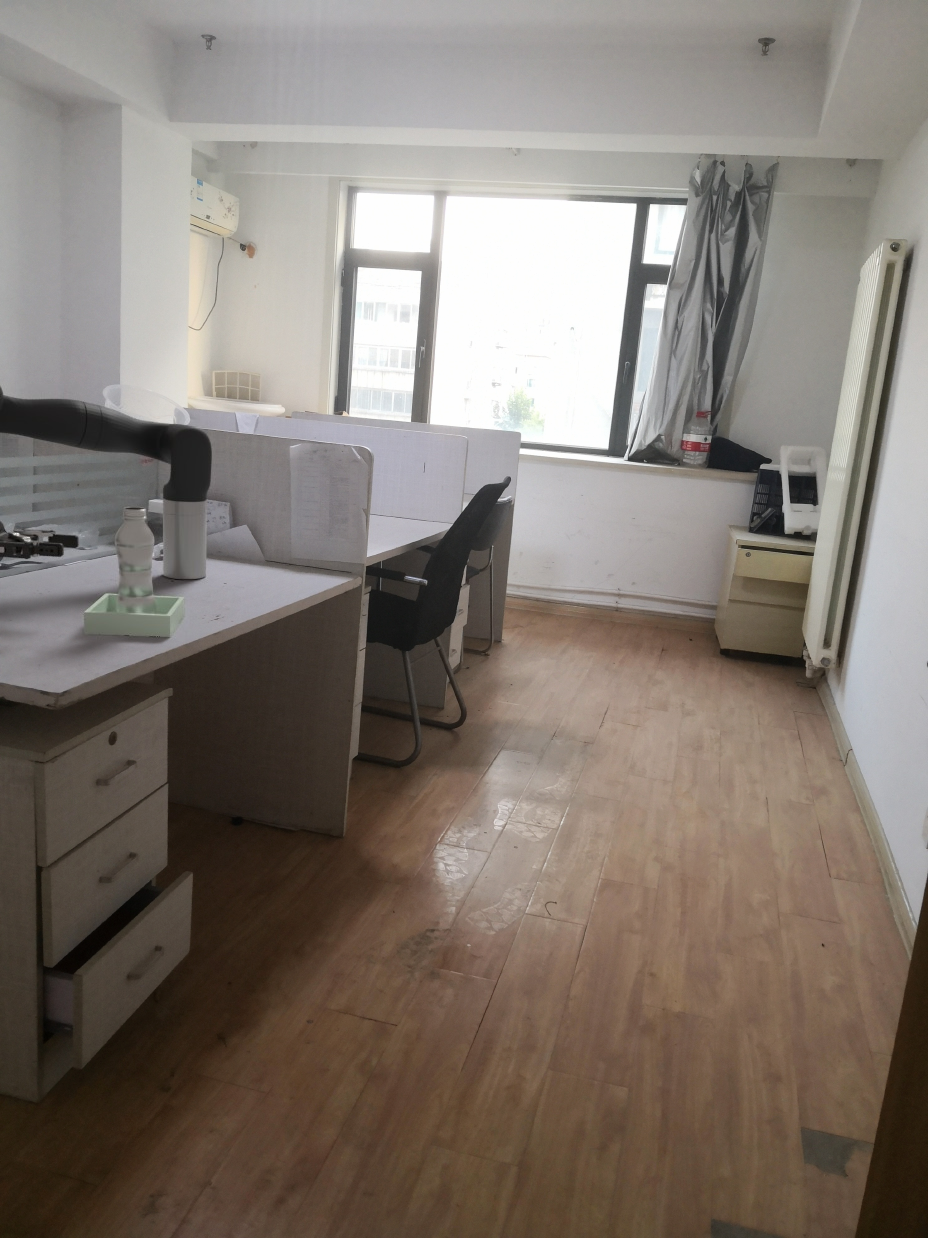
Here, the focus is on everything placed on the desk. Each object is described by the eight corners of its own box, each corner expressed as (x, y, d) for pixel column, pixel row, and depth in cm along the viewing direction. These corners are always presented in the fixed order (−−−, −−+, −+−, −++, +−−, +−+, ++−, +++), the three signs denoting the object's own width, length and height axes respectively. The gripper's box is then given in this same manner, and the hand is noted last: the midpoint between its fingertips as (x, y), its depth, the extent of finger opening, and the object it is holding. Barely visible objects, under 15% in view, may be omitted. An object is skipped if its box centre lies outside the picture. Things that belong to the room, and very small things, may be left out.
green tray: (106, 613, 161) (105, 593, 160) (184, 616, 163) (184, 597, 162) (84, 633, 147) (83, 612, 146) (170, 637, 150) (170, 615, 149)
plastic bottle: (163, 620, 156) (163, 509, 151) (132, 627, 151) (130, 512, 146) (140, 613, 159) (138, 504, 155) (107, 620, 154) (105, 507, 149)
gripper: (-50, 524, 140) (57, 530, 142) (-15, 512, 154) (82, 518, 156) (-47, 569, 142) (58, 575, 144) (-13, 554, 155) (83, 559, 158)
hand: (70, 545), depth 150 cm, fingers open, 8 cm apart
